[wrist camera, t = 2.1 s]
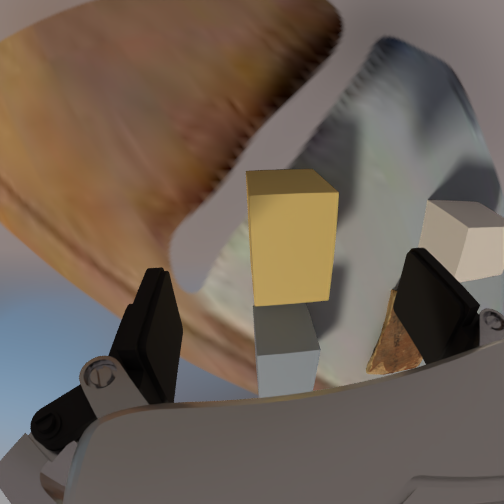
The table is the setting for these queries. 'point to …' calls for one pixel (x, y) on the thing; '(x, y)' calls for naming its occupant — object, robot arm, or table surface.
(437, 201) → the cream brick
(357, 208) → the table surface
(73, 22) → the table surface
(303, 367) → the slate brick
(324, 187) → the mustard brick
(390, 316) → the shard
